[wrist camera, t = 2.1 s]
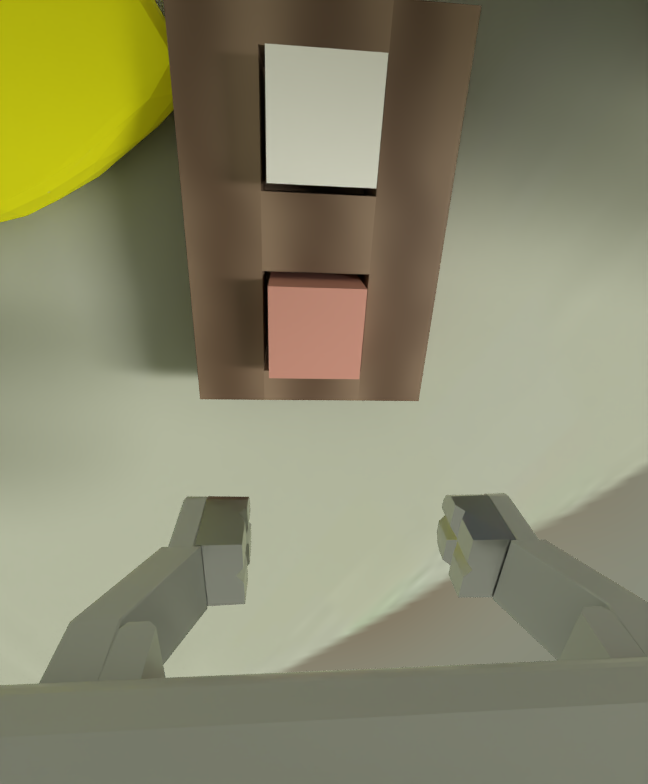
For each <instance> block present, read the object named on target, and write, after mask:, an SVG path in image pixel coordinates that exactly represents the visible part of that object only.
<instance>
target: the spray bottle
mask: <svg viewBox="0 0 648 784" xmlns="http://www.w3.org/2000/svg"><path fill="white" fill-rule="evenodd" d="M173 110H174V108H173V97H172V86H171V76H170V65H169V54H168V43H167V32H166V21H165V17H164V16H163V14H162V12H161V10H160V9H159V7H158V5H157V3H156V2H155V0H0V222H4V221H8V220H12V219H16V218H19V217H23V216H27V215H29V214H31V213H33V212H35V211H37V210H39V209H41V208H43V207H45V206H47V205H49V204H51V203H53V202H55V201H57V200H59V199H61V198H63V197H64V196H66V195H68V194H70V193H71V192H73V191H75V190H76V189H78V188H80V187H82V186H83V185H85V184H87V183H88V182H90V181H92V180H94V179H95V178H97V177H99V176H100V175H101V174H103V173H104V172H105V171H106V170H107V169H108V168H110V167H111V166H112V165H113V164H114V163H116V162H117V161H118V160H119V159H120V158H121V157H123V156H124V155H125V154H126V153H127V152H129V151H130V150H131V149H132V148H133V147H134V146H136V145H137V144H138V143H139V142H140V141H141V140H143V139H144V138H145V137H146V136H147V135H149V134H150V133H151V132H152V131H153V130H154V129H156V128H157V127H158V126H159V125H160V124H161V123H162V122H163V121H164V120H165V119H166V118H167V116H168V115H169V114H170V113H171V112H172V111H173Z"/></svg>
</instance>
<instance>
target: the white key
mask: <svg viewBox="0 0 648 784" xmlns="http://www.w3.org/2000/svg"><path fill="white" fill-rule="evenodd" d="M387 63H388V53H384V52H371V51H358V50H345V49H332V48H319V47H306V46H292V45H279V44H266V43H265V99H266V179H267V183H276V184H296V185H316V186H336V187H356V188H376V187H377V175H378V164H379V153H380V142H381V131H382V119H383V108H384V97H385V86H386V75H387Z"/></svg>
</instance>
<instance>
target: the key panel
mask: <svg viewBox="0 0 648 784" xmlns="http://www.w3.org/2000/svg"><path fill="white" fill-rule="evenodd" d="M164 10H165V21H166V32H167V43H168V54H169V65H170V76H171V86H172V97H173V108H174V119H175V130H176V141H177V152H178V163H179V174H180V184H181V195H182V206H183V217H184V228H185V239H186V250H187V261H188V272H189V282H190V293H191V304H192V315H193V326H194V337H195V348H196V359H197V370H198V380H199V391H200V399H249V400H375V401H419V394H420V388H421V382H422V376H423V369H424V363H425V357H426V351H427V344H428V338H429V332H430V325H431V319H432V313H433V307H434V300H435V294H436V288H437V282H438V275H439V269H440V263H441V256H442V250H443V244H444V238H445V231H446V225H447V219H448V213H449V206H450V200H451V194H452V188H453V181H454V175H455V169H456V162H457V156H458V150H459V144H460V137H461V131H462V125H463V119H464V112H465V106H466V100H467V93H468V87H469V81H470V75H471V68H472V62H473V56H474V50H475V43H476V37H477V31H478V25H479V18H480V12H481V6H479V5H468V4H456V3H445V2H433V1H422V0H164ZM265 43H266V44H279V45H292V46H306V47H319V48H332V49H345V50H358V51H371V52H384V53H388V63H387V75H386V86H385V97H384V108H383V119H382V131H381V142H380V153H379V164H378V175H377V187H376V188H356V187H336V186H316V185H296V184H276V183H267V179H266V99H265ZM271 272H294V273H325V274H356V275H357V276H358V277H359V278H360V280H361V281H362V283H363V284H364V285H365V287H366V288H367V299H366V310H365V321H364V333H363V344H362V355H361V366H360V377H359V379H293V378H269V339H268V283H269V279H270V274H271Z"/></svg>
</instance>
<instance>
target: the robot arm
mask: <svg viewBox="0 0 648 784" xmlns="http://www.w3.org/2000/svg"><path fill="white" fill-rule="evenodd" d="M442 509H443V511H444V514H445V516H444V517H443V518H442V519H441V520H439V523H438V529H437V543H438V547H439V551H440V554H441V556H442V559H443V560H444V561H446V562H447V563H448V564H449V565H451V566H450V570H449V576H450V579H451V581H452V584H453V586H454V588H455V591H456V593H457V595H458V597H493V599H494V601H495V602H497V604H498V605H500V606H501V607H502V608H503V609H504V610H505V611H506V612H507V613H508V614H509V615H510V616H511V617H512V618H513V619H514V620H515V621H516V622H517V623H519V624H520V625H521V626H522V627H523V628H524V629H525V630H526V631H527V632H528V633H529V634H530V635H531V636H532V637H533V638H534V639H536V641H537V642H539V643H540V644H541V645H542V646H543V647H544V648H545V649H546V650H547V651H548V652H549V653H550V654H551V655H552V656H553V657H554V658H555V659H556V660H557V661H536V662H514V663H494V664H493V663H492V664H470V665H450V666H449V665H447V666H427V667H401V668H379V669H356V670H333V671H310V672H287V673H265V674H242V675H220V676H197V677H175V678H165V672H164V667H163V664H164V663H165V662H166V661H167V659H168V658H169V657H170V655H171V654H172V653H173V652H174V650H175V649H176V648H177V647H178V645H179V644H180V643H181V641H182V640H183V639H184V638H185V636H186V635H187V634H188V632H189V631H190V630H191V629H192V627H193V626H194V625H195V623H196V622H197V621H198V620H199V618H200V617H201V616H202V615H203V613H204V612H205V611H206V609H207V606H217V605H234V604H245V600H246V591H247V582H248V570H247V566H248V565H249V564H250V553H251V524H250V523H249V518H250V498H249V497H214V496H208V497H186V499H185V500H184V502H183V504H182V507H181V510H180V513H179V516H178V519H177V522H176V525H175V528H174V531H173V534H172V537H171V540H170V543H169V546H168V547H161V548H160V549H159V550H158V551H156V552H155V553H154V554H153V555H152V556H150V557H149V558H148V559H147V560H145V561H144V562H143V563H142V564H140V565H139V566H138V567H137V568H136V569H134V570H133V571H132V572H131V573H129V574H128V575H127V576H126V577H125V578H123V579H122V580H121V581H120V582H118V583H117V584H116V585H115V586H113V587H112V588H111V589H110V590H109V591H107V592H106V593H105V594H104V595H102V596H101V597H100V598H99V599H98V600H96V601H95V602H94V603H93V604H91V605H90V606H89V607H88V608H86V609H85V610H84V611H83V612H82V613H80V614H79V615H78V616H77V617H75V618H74V619H73V620H72V621H71V622H70V623H69V625H68V627H67V629H66V631H65V633H64V635H63V637H62V639H61V641H60V643H59V645H58V647H57V649H56V651H55V653H54V655H53V657H52V659H51V661H50V663H49V665H48V667H47V669H46V671H45V673H44V675H43V677H42V679H41V680H40V682H39V684H17V685H0V784H648V602H646V601H645V600H643V599H642V598H640V597H638V596H637V595H635V594H633V593H632V592H630V591H628V590H627V589H625V588H624V587H622V586H620V585H619V584H617V583H615V582H614V581H612V580H610V579H609V578H607V577H605V576H604V575H602V574H601V573H599V572H597V571H596V570H594V569H592V568H591V567H589V566H587V565H586V564H584V563H582V562H581V561H579V560H578V559H576V558H574V557H573V556H571V555H569V554H568V553H566V552H564V551H563V550H561V549H559V548H558V547H556V546H555V545H553V544H551V543H550V542H548V541H546V540H539V539H538V537H537V536H536V535H535V533H534V532H533V530H532V529H531V527H530V526H529V525H528V523H527V522H526V520H525V519H524V517H523V516H522V515H521V513H520V512H519V510H518V509H517V508H516V506H515V505H514V503H513V502H512V500H511V499H510V498H509V496H508V495H506V494H504V493H498V494H484V495H483V494H478V495H446V496H445V498H444V500H443V504H442Z"/></svg>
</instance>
